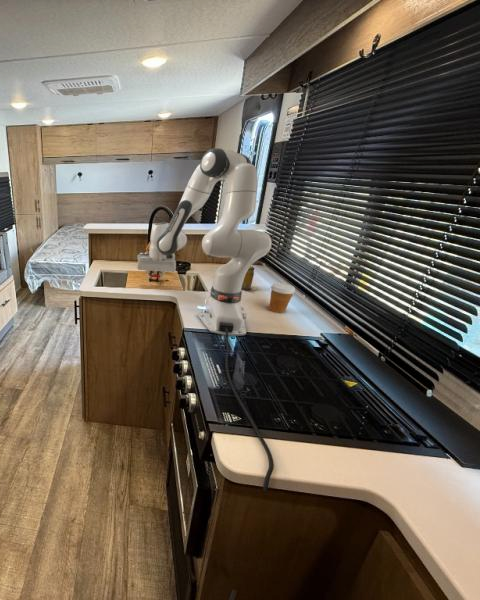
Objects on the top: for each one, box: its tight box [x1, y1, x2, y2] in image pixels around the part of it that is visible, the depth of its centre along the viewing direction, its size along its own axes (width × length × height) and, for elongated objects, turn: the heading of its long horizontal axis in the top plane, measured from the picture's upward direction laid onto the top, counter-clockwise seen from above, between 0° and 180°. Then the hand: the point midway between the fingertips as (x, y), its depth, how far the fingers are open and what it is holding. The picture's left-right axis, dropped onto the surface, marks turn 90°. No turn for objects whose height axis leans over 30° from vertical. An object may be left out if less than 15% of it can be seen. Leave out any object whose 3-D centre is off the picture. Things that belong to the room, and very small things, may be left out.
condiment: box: [241, 266, 257, 292], centre depth 167 cm, size 7×8×12 cm
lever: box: [151, 271, 161, 279], centre depth 169 cm, size 13×5×2 cm, turn 168°
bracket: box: [148, 271, 160, 283], centre depth 175 cm, size 11×9×14 cm
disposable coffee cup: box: [268, 282, 296, 314], centre depth 141 cm, size 10×10×12 cm
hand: (155, 278), depth 166 cm, fingers closed on lever, 5 cm apart
